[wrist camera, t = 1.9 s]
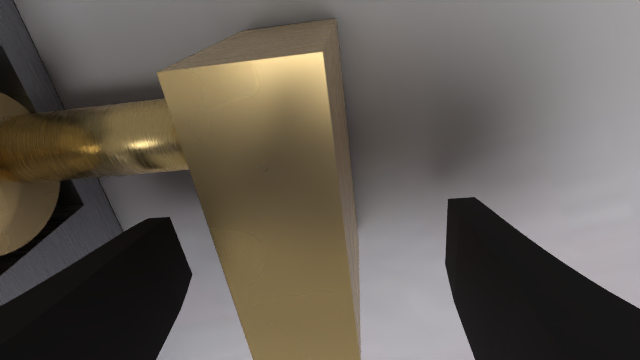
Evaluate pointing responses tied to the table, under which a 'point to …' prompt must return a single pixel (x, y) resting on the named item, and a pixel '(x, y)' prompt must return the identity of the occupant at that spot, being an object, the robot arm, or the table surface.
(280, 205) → the plunger with bar handle
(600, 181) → the table surface
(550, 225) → the table surface
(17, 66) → the bore block
